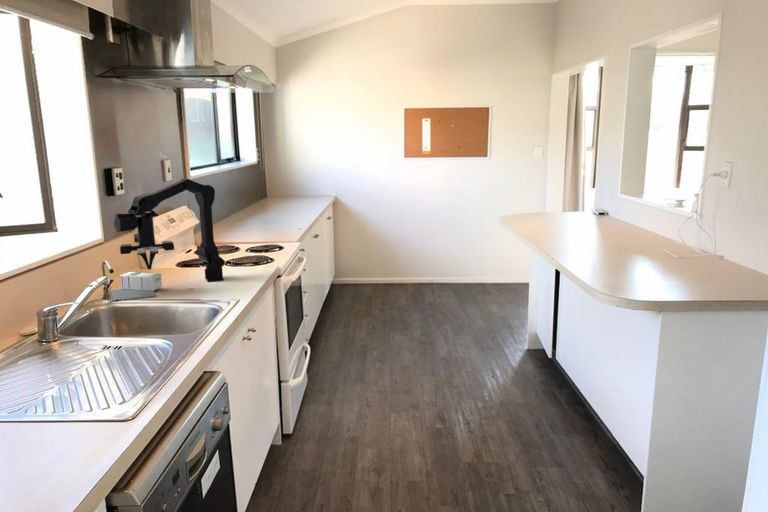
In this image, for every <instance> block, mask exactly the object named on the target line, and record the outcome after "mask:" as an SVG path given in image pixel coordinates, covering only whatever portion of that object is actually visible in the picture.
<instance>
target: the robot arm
mask: <svg viewBox="0 0 768 512" xmlns="http://www.w3.org/2000/svg"><path fill="white" fill-rule="evenodd" d="M184 191H187V192H189V193H192V194H194V198H195V201H196V203H197V205H198V207H199V219H200V220H199V221H200V234H201V235H200V236H201V242H200V245H196V252H197V253H196V256H197V257H198V259H199V260H200V261H202V263H203V265H205V268H204V278H205V280H206V281H207V282H208V283H209V282H219V281H224V279H225V278H224V276H223V275H224V274H223V267H224V266H225V262H226V261H225V259H224V258H222V257H221V256H220V254H219V250H218V247H217V245H216V242H215V238H214V237H215V236H214V224H213V222H214V221H213V208H212V207H213V204H214V202H215V197H216V191H215V188H214V187H213V185H210V184H202V183H199V182H196V181H193V180H191V179H190V178H181V179H180V180H178V181H175V182H174V183H172V184H169V185H166V186H165V187H163V188H161V189H158V190H156V191H154V192H148V193H143V194H139V195H135V197H133V199H132V205H131V206H130V207H129V209H128V211H127V213H126V212H123V213H119V212H118V213H115V216H114V217H115V218H114V222H113V225H114V226H113V227H114V229H115V231H116V233H123V232H132V231H135V230H136V229H137V233H135V234H134V233H133V239H134V243H135V244H137V243H138V245H132V243H125V244H123V243H122V244H121V245H120V246H119V250H120V251H119V253H120V255H127V254H131V253H132V252H137V254H136V255H137V256H141V258H142V260H143V262H144V264H145V265H146V267H147V269H148V270H151V269H152V266H153V261H154V259H155V257H156V254H159V250H164V251H175V245H174V242H173V241H172V240H168V241H167V240H164V241H161V243H156V239H155V227H154V218H155V217H159V214H158V213H157V212H155V210H154V209H155V208H156V207H158V206H159V205H160V203H162V202H164V201H166V200H168V199H170V198H172V197H174V196H176V195H178V194H180V193H183V192H184ZM146 250H147V251H148V250H149V257H148V256H147V252H146Z"/></svg>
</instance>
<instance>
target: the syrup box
mask: <svg viewBox="0 0 768 512" xmlns="http://www.w3.org/2000/svg"><path fill="white" fill-rule="evenodd" d="M162 280H163V279H162V273H157V272H156V273H155V272H137V271H129V272H126V273H123V274H120V275H119V281H120V287H121V288H120V289H130V290H147V291H154V292H155V291H157V290H158V289H162V288H163V282H162Z"/></svg>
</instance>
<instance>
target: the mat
mask: <svg viewBox="0 0 768 512" xmlns="http://www.w3.org/2000/svg"><path fill="white" fill-rule="evenodd" d="M110 290H111V291H112V294H113V299H111V300H112V301H114V300H124V301H129V300H128V299H133V300H139V299H142V300H143V299H150V298H156V294H155V293H156V292H155V290H154V291H147V290H130V289H122V288H118V289H110ZM111 300H110V301H111ZM108 301H109V300H108V299H107V302H108Z"/></svg>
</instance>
